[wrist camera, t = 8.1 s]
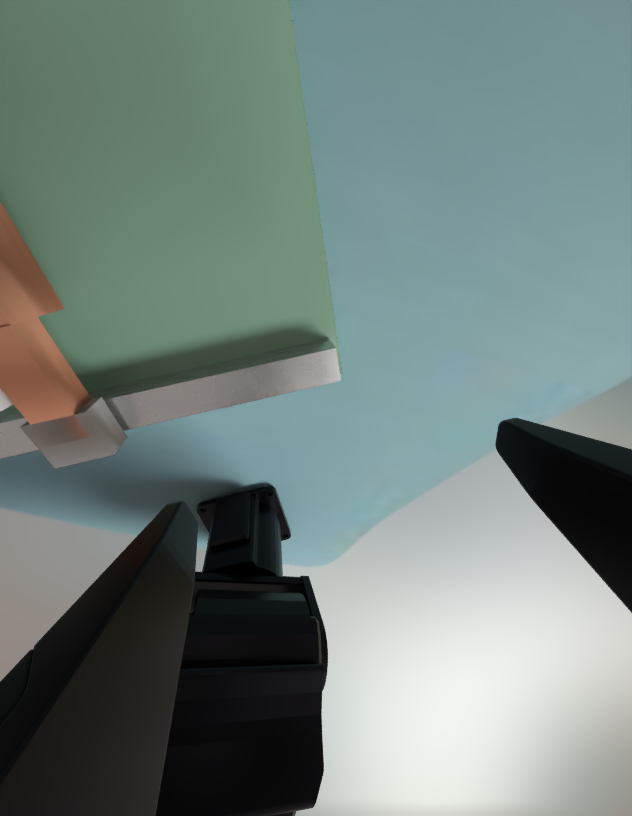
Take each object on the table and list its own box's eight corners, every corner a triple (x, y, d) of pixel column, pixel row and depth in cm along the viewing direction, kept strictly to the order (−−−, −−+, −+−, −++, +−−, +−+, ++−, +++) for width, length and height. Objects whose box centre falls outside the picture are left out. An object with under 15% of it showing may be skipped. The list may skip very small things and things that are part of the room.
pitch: (339, 367, 20) (342, 373, 19) (11, 442, 19) (-2, 451, 18) (272, -85, 10) (273, -114, 10) (-371, 21, 10) (-433, -2, 9)
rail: (333, 368, 18) (340, 380, 17) (1, 443, 18) (-28, 464, 16) (329, 337, 17) (336, 348, 16) (-24, 416, 17) (-58, 436, 15)
